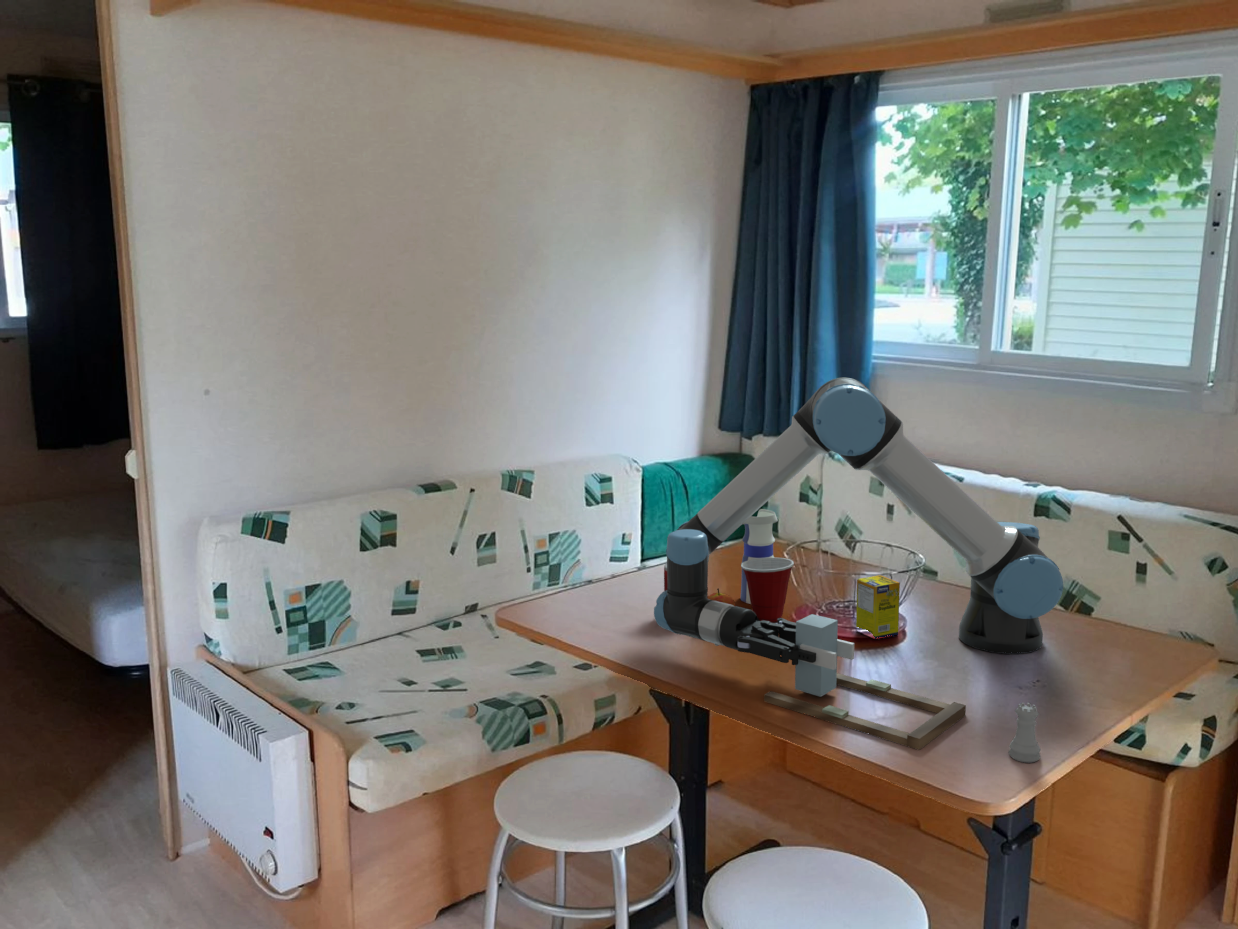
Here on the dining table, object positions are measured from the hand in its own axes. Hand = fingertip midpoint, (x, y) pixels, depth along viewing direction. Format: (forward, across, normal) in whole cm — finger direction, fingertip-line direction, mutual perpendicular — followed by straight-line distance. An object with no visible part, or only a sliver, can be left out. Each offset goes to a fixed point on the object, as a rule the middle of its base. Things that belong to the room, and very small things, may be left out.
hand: (843, 656), depth 176 cm
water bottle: (-42, -36, -8) cm, 56 cm away
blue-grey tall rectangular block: (-5, 0, -7) cm, 9 cm away
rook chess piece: (+30, 0, -8) cm, 32 cm away
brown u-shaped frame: (+3, 0, -8) cm, 9 cm away
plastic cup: (-34, -27, -8) cm, 44 cm away
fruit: (-38, -17, -8) cm, 43 cm away
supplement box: (-12, -33, -8) cm, 36 cm away
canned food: (-48, -17, -8) cm, 51 cm away
